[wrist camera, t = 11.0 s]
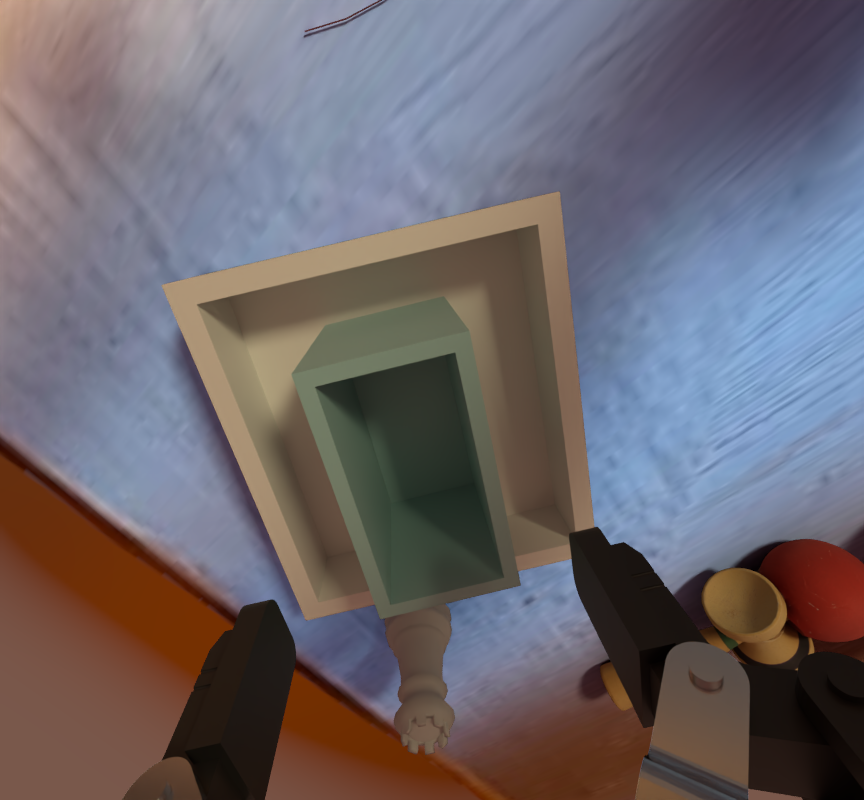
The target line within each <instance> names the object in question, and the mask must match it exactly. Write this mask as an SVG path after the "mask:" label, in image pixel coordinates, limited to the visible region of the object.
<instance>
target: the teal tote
mask: <svg viewBox="0 0 864 800" xmlns="http://www.w3.org/2000/svg"><path fill="white" fill-rule="evenodd" d="M291 375H292V378H293V381H294V383H295V386H296V389H297V392H298V394H299V397H300V400H301V403H302V405H303V408H304V411H305V414H306V417H307V419H308V422H309V425H310V428H311V430H312V433H313V436H314V439H315V441H316V444H317V447H318V450H319V452H320V455H321V458H322V461H323V463H324V466H325V469H326V472H327V474H328V477H329V480H330V483H331V485H332V488H333V491H334V494H335V496H336V499H337V502H338V505H339V507H340V510H341V513H342V516H343V518H344V521H345V524H346V527H347V529H348V532H349V535H350V538H351V540H352V543H353V546H354V549H355V551H356V554H357V557H358V560H359V562H360V565H361V568H362V571H363V573H364V576H365V579H366V582H367V584H368V587H369V590H370V593H371V595H372V598H373V601H374V604H375V606H376V609H377V612H378V615H379V617H380V619H384V618H388V617H392V616H396V615H400V614H405V613H409V612H413V611H417V610H421V609H425V608H429V607H434V606H438V605H442V604H446V603H450V602H454V601H458V600H463V599H467V598H471V597H475V596H479V595H483V594H487V593H492V592H496V591H500V590H504V589H508V588H512V587H516V586H521V584H520V579H519V574H518V569H517V564H516V559H515V554H514V549H513V544H512V539H511V534H510V530H509V525H508V520H507V515H506V510H505V505H504V500H503V495H502V490H501V485H500V480H499V475H498V470H497V465H496V460H495V455H494V450H493V445H492V440H491V435H490V430H489V425H488V420H487V415H486V410H485V405H484V400H483V395H482V391H481V386H480V381H479V376H478V371H477V366H476V361H475V356H474V351H473V346H472V341H471V336H470V331H469V329H468V328H467V327H466V325H465V324H464V323H463V321H462V320H461V319H460V317H459V316H458V315H457V313H456V312H455V311H454V309H453V308H452V307H451V305H450V304H449V302H448V301H447V300H446V298H445V297H444V296H442V297H438V298H434V299H430V300H426V301H422V302H418V303H414V304H410V305H406V306H402V307H397V308H393V309H389V310H385V311H381V312H377V313H373V314H369V315H365V316H361V317H357V318H353V319H349V320H345V321H340V322H336V323H332V324H328V325H325V326H324V328H323V329H322V331H321V332H320V333H319V335H318V336H317V338H316V339H315V341H314V342H313V344H312V345H311V346H310V348H309V349H308V351H307V352H306V354H305V355H304V357H303V358H302V359H301V361H300V362H299V364H298V365H297V367H296V368H295V370H294V371H293V372H292V374H291Z"/></svg>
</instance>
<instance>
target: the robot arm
mask: <svg viewBox="0 0 864 800" xmlns="http://www.w3.org/2000/svg"><path fill="white" fill-rule="evenodd" d="M569 542H570V550H571V558H572V566H573V574H574V580H575V584H576V588H577V591H578V594H579V597H580V599H581V601H582V603H583V606H584V608H585V610H586V612H587V614H588V616H589V618H590V620H591V622H592V624H593V626H594V628H595V630H596V632H597V634H598V636H599V638H600V640H601V642H602V644H603V646H604V648H605V650H606V652H607V654H608V656H609V658H610V661H611V663H612V665H613V667H614V669H615V671H616V673H617V675H618V677H619V679H620V681H621V683H622V685H623V687H624V689H625V691H626V693H627V695H628V697H629V699H630V701H631V703H632V705H633V707H634V709H635V711H636V713H637V715H638V718H639V720H640V722H641V724H642V726H643V728H647V727H651V726H654V728H653V733H652V739H651V744H650V749H649V753H648V755H645V757H644V759H643V762H642V766H641V771H640V776H639V781H638V786H637V792H636V797H635V800H748V789H754V790H761V791H767V792H773V793H779V794H785V795H791V796H798V797H802V799H803V800H864V663H863V662H861V661H859V660H857V659H854V658H852V657H849V656H846V655H842V654H838V653H833V652H816V653H812V654H809V655H807V656H805V657H804V658H803V659H802V660H801V661H800V663H799V666H798V670H789V669H778V668H767V667H758V666H751V665H747V664H744V663H741V662H738V661H736V659H734V658H733V657H732V656H731V655H730V654H728V653H727V652H725V651H724V650H722V649H720V648H718V647H716V646H713V645H711V644H709V643H708V642H707V640H706V639H705V638H704V637H703V635H702V634H701V633H700V631H699V630H698V629H697V627H696V626H695V625H694V623H693V622H692V621H691V619H690V618H689V617H688V615H687V614H686V613H685V611H684V610H683V609H682V607H681V606H680V605H679V603H678V602H677V600H676V599H675V598H674V596H673V595H672V594H671V592H670V591H669V590H668V588H667V587H665V586H664V583H663V582H662V580H661V579H660V578H659V576H658V575H657V574H656V573H655V572H654V570H653V568H652V567H651V566H650V564H649V563H648V561H647V560H646V559H645V557H644V556H643V555H642V554H641V553H640V552H638V551H637V550H635V549H633V548H632V547H630V546H629V545H627V544H626V543H624V542H623V543H618V544H614V545H610V543H609V542H608V540H607V539H606V537H605V536H604V534H603V533H602V531H601V530H600V529H599V528H598V527H594V528H590V529H585V530H581V531H576V532H572V533H570V534H569ZM295 662H296V649H295V643H294V640H293V637H292V635H291V633H290V631H289V628H288V626H287V624H286V622H285V620H284V618H283V615H282V613H281V611H280V609H279V607H278V605H277V603H276V601H274V600H267V601H263V602H258V603H254V604H250V605H245V606H244V607H242V609H241V611H240V613H239V615H238V618H237V620H236V623H235V625H234V628H233V630H229V631H225V632H224V633H223V635H222V636H221V637H220V638H219V639H218V641H217V642H216V643H215V645H214V646H213V647H212V648H211V650H210V651H209V653H208V656H207V658H206V660H205V662H204V665H203V667H202V669H201V675H199V676H198V679H197V681H196V683H195V686H194V691H193V692H191V695H190V697H189V699H188V702H187V704H186V706H185V709H184V711H183V713H182V716H181V718H180V720H179V722H178V725H177V727H176V729H175V732H174V734H173V736H172V739H171V741H170V743H169V746H168V748H167V750H166V753H165V755H164V757H163V759H162V761H160V762H158V763H157V764H155V765H153V766H152V767H151V768H149V769H148V770H147V771H146V772H144V773H143V774H142V775H141V776H140V777H139V778H138V779H137V780H136V781H135V782H134V783H133V785H132V786H131V787H130V788H129V790H128V791H127V793H126V794H125V796H124V798H123V799H122V800H265V796H266V792H267V787H268V783H269V778H270V774H271V769H272V765H273V760H274V756H275V752H276V747H277V743H278V738H279V734H280V730H281V725H282V721H283V716H284V712H285V708H286V703H287V698H288V694H289V690H290V686H291V681H292V677H293V672H294V668H295Z"/></svg>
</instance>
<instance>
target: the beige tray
mask: <svg viewBox="0 0 864 800" xmlns="http://www.w3.org/2000/svg"><path fill="white" fill-rule="evenodd" d="M162 288H163V290H164V292H165V295H166V297H167V299H168V301H169V304H170V306H171V308H172V311H173V313H174V315H175V318H176V320H177V322H178V325H179V327H180V329H181V332H182V334H183V336H184V339H185V341H186V343H187V346H188V348H189V350H190V353H191V355H192V357H193V360H194V362H195V364H196V366H197V369H198V371H199V373H200V376H201V378H202V380H203V383H204V385H205V387H206V390H207V392H208V394H209V397H210V399H211V401H212V404H213V406H214V408H215V411H216V413H217V415H218V418H219V420H220V422H221V425H222V427H223V429H224V431H225V434H226V436H227V438H228V441H229V443H230V445H231V448H232V450H233V452H234V455H235V457H236V459H237V462H238V464H239V466H240V469H241V471H242V473H243V476H244V478H245V480H246V483H247V485H248V487H249V490H250V492H251V494H252V496H253V499H254V501H255V503H256V506H257V508H258V510H259V513H260V515H261V517H262V520H263V522H264V524H265V527H266V529H267V531H268V534H269V536H270V538H271V541H272V543H273V545H274V548H275V550H276V552H277V555H278V557H279V559H280V562H281V564H282V566H283V568H284V571H285V573H286V575H287V578H288V580H289V582H290V585H291V587H292V589H293V592H294V594H295V596H296V599H297V601H298V603H299V606H300V608H301V610H302V613H303V615H304V617H305V620H306V621H307V620H311V619H315V618H320V617H324V616H328V615H332V614H337V613H341V612H345V611H350V610H354V609H358V608H362V607H367V606H371V605H375V604H374V601H373V598H372V595H371V593H370V590H369V587H368V584H367V582H366V579H365V576H364V573H363V571H362V568H361V565H360V562H359V560H358V557H357V554H356V551H355V549H354V546H353V543H352V540H351V538H350V535H349V532H348V529H347V527H346V524H345V521H344V518H343V516H342V513H341V510H340V507H339V505H338V502H337V499H336V496H335V494H334V491H333V488H332V485H331V483H330V480H329V477H328V474H327V472H326V469H325V466H324V463H323V461H322V458H321V455H320V452H319V450H318V447H317V444H316V441H315V439H314V436H313V433H312V430H311V428H310V425H309V422H308V419H307V417H306V414H305V411H304V408H303V405H302V403H301V400H300V397H299V394H298V392H297V389H296V386H295V383H294V381H293V378H292V375H291V374H292V372H293V371H294V370H295V368H296V367H297V365H298V364H299V362H300V361H301V359H302V358H303V357H304V355H305V354H306V352H307V351H308V349H309V348H310V346H311V345H312V344H313V342H314V341H315V339H316V338H317V336H318V335H319V333H320V332H321V331H322V329H323V328H324V326H325V325H328V324H332V323H336V322H340V321H345V320H349V319H353V318H357V317H361V316H365V315H369V314H373V313H377V312H381V311H385V310H389V309H393V308H397V307H402V306H406V305H410V304H414V303H418V302H422V301H426V300H430V299H434V298H438V297H442V296H444V297H445V298H446V300H447V301H448V302H449V304H450V305H451V307H452V308H453V309H454V311H455V312H456V313H457V315H458V316H459V317H460V319H461V320H462V321H463V323H464V324H465V325H466V327H467V328H468V329H469V331H470V336H471V341H472V346H473V351H474V356H475V361H476V366H477V371H478V376H479V381H480V386H481V391H482V395H483V400H484V405H485V410H486V415H487V420H488V425H489V430H490V435H491V440H492V445H493V450H494V455H495V460H496V465H497V470H498V475H499V480H500V485H501V490H502V495H503V500H504V505H505V510H506V515H507V520H508V525H509V530H510V534H511V539H512V544H513V549H514V554H515V559H516V564H517V569H518V571H521V570H525V569H530V568H534V567H538V566H543V565H547V564H551V563H555V562H560V561H564V560H568V559H572V558H571V550H570V542H569V534H570V533H572V532H576V531H581V530H585V529H590V528H594V519H593V509H592V500H591V490H590V480H589V471H588V461H587V451H586V442H585V432H584V422H583V413H582V403H581V393H580V384H579V374H578V364H577V355H576V345H575V335H574V326H573V316H572V306H571V297H570V287H569V277H568V268H567V258H566V248H565V239H564V229H563V219H562V210H561V200H560V191H559V192H554V193H550V194H545V195H541V196H536V197H531V198H527V199H523V200H518V201H514V202H510V203H506V204H501V205H497V206H493V207H489V208H484V209H480V210H476V211H472V212H467V213H463V214H459V215H455V216H450V217H446V218H442V219H438V220H433V221H429V222H425V223H421V224H416V225H412V226H408V227H404V228H399V229H395V230H391V231H387V232H382V233H378V234H374V235H370V236H365V237H361V238H357V239H353V240H348V241H344V242H340V243H336V244H331V245H327V246H323V247H319V248H314V249H310V250H306V251H302V252H297V253H293V254H289V255H285V256H280V257H276V258H272V259H268V260H263V261H259V262H255V263H251V264H246V265H242V266H238V267H234V268H229V269H225V270H221V271H217V272H212V273H208V274H204V275H200V276H196V277H192V278H188V279H184V280H180V281H176V282H172V283H168V284H164V285H162Z"/></svg>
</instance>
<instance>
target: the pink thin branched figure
mask: <svg viewBox="0 0 864 800" xmlns="http://www.w3.org/2000/svg"><path fill="white" fill-rule="evenodd" d="M380 1H382V0H379V1H377V2H375V3H373V4H371V5H370V6H368V7H366V8H364V9H362V10H360V11H358V12H356V13H355V14H353V15H351V16H349V17H347V18H345V19H342V20H338V21H335V22H332V23H328V24H325V25H322V26H319V27H315V28H312V29H309V30H306V31H305V32H307V31H310V30H314V29H317V28H320V27H324V26H327V25H330V24H333V23H337V22H340V21H343V20H346V19H348V18H350V17H352V16H354V15H356V14H358V13H359V12H361V11H363V10H365V9H367V8H369V7H371V6H373V5H374V4H376V3H378V2H380Z"/></svg>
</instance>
